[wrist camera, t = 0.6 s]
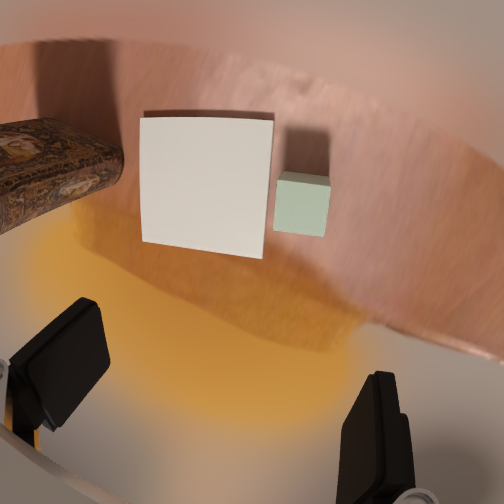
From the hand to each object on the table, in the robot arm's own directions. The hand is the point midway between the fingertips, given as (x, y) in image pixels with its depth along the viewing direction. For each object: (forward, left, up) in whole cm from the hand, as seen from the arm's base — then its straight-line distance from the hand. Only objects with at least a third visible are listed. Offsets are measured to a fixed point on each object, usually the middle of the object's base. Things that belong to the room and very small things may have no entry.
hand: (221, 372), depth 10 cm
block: (-1, 0, -28) cm, 28 cm away
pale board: (+11, 0, -28) cm, 30 cm away
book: (+30, -4, -28) cm, 41 cm away
